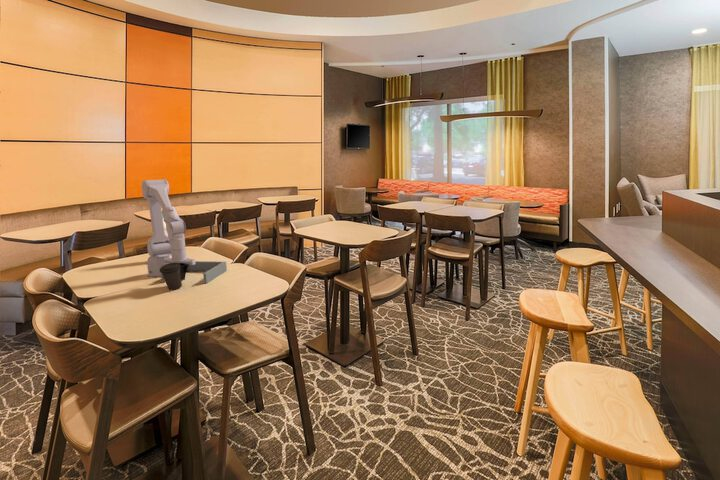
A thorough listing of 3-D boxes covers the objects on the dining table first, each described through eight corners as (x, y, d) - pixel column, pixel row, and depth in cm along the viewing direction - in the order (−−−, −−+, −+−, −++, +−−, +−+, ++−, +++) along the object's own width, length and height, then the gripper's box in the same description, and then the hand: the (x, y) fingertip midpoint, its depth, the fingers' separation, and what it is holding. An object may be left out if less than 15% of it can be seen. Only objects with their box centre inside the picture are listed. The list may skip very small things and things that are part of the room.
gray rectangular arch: (162, 282, 176) (161, 272, 176) (186, 269, 196) (185, 261, 195) (206, 283, 174) (205, 273, 173) (226, 270, 194) (226, 261, 193)
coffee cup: (189, 283, 171) (184, 262, 166) (175, 293, 164) (169, 272, 159) (174, 279, 173) (169, 259, 169) (160, 289, 167) (154, 268, 162)
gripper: (199, 247, 172) (202, 278, 175) (170, 246, 176) (173, 276, 179) (187, 251, 165) (191, 283, 168) (158, 249, 169) (162, 281, 172)
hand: (181, 280), depth 173 cm, fingers closed on coffee cup
